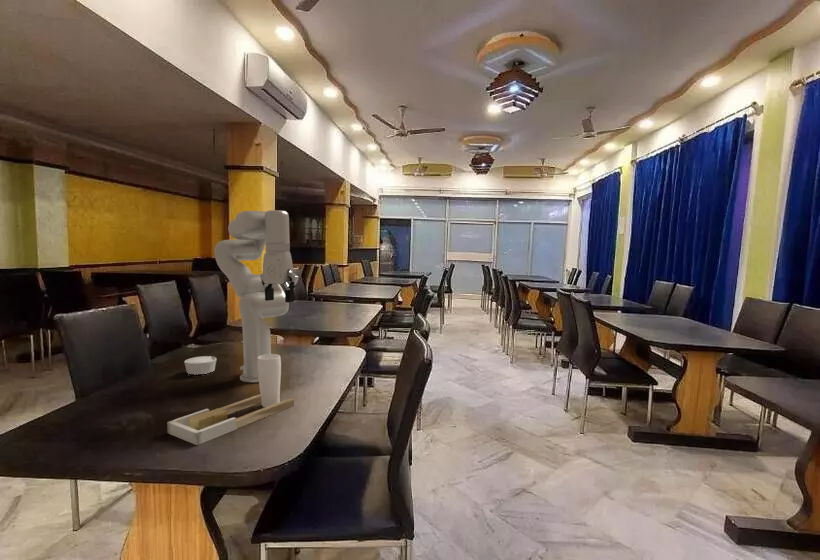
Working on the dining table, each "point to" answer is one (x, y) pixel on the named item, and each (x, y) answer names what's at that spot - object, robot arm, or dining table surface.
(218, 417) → the wooden cube
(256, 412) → the channel
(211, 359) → the ramekin
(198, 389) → the dining table surface
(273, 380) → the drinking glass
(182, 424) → the u-shaped frame
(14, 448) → the dining table surface
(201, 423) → the tan cube
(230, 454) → the dining table surface
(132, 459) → the dining table surface
